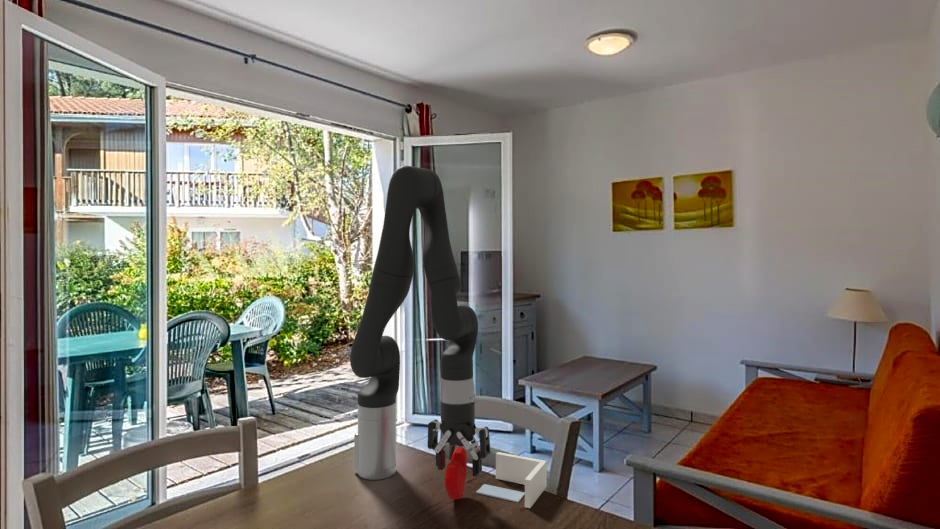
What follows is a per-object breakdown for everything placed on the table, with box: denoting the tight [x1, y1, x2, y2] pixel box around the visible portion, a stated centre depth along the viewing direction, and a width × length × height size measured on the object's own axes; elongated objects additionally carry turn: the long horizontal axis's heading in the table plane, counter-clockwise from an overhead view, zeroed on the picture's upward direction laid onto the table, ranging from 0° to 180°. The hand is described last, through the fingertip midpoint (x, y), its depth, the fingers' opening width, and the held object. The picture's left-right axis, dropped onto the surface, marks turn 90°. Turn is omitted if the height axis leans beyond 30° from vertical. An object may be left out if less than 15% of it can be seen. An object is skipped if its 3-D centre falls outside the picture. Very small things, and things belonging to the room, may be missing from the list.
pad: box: [475, 483, 525, 503], centre depth 117 cm, size 10×4×1 cm, turn 64°
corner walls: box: [495, 451, 548, 509], centre depth 118 cm, size 12×11×6 cm
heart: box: [444, 446, 468, 501], centre depth 114 cm, size 12×4×10 cm, turn 169°
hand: (458, 472), depth 114 cm, fingers open, 8 cm apart
